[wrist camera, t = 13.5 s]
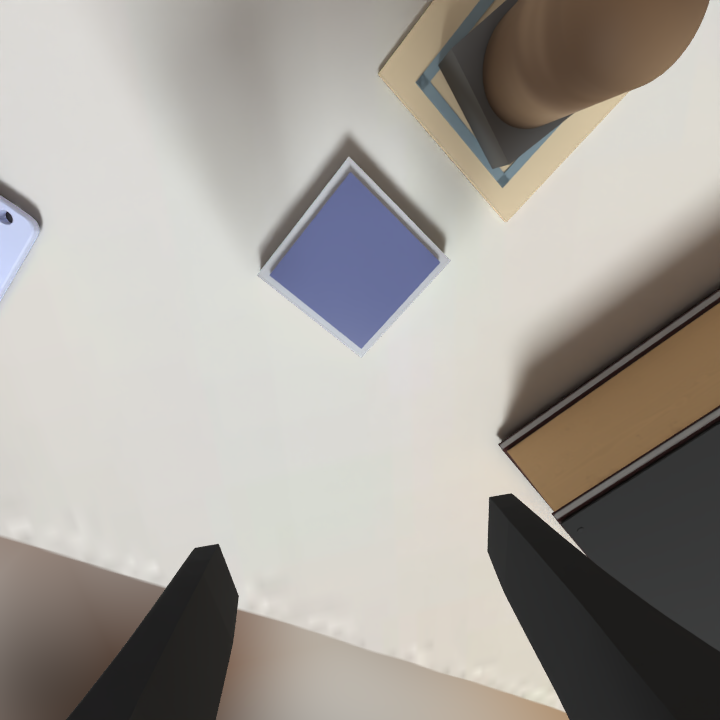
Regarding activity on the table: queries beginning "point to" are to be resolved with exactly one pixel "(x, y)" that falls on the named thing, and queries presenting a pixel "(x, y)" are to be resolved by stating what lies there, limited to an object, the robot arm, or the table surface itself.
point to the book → (642, 468)
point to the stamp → (560, 63)
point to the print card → (447, 122)
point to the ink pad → (354, 260)
